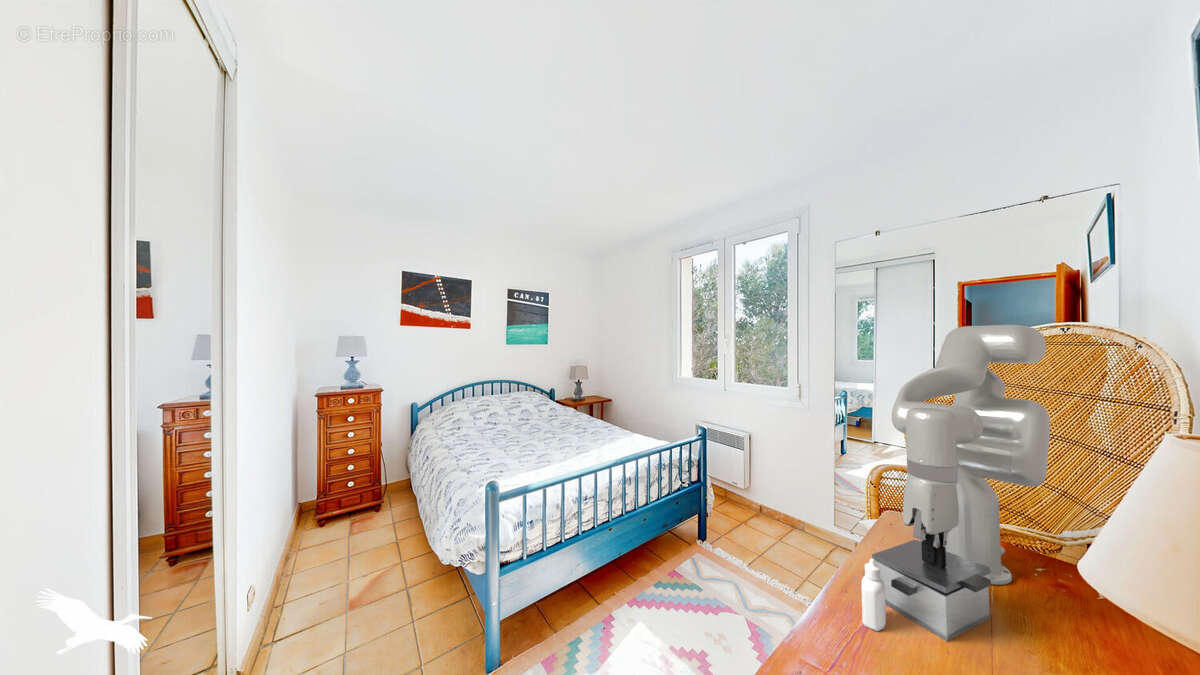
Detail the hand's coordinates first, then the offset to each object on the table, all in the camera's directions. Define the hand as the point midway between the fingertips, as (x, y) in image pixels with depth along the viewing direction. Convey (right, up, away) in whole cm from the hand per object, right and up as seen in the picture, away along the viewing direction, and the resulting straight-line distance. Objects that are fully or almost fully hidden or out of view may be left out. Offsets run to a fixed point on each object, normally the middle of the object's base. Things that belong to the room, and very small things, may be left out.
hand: (933, 564), depth 73 cm
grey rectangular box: (0, -10, +1) cm, 10 cm away
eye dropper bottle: (-13, -10, -2) cm, 17 cm away
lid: (0, -1, 0) cm, 1 cm away
